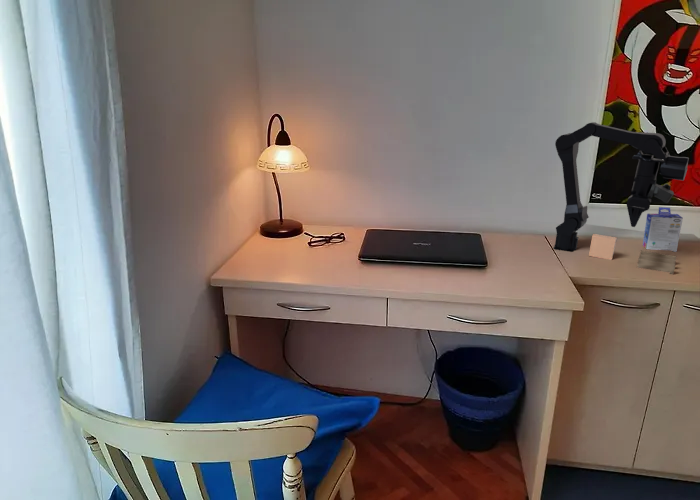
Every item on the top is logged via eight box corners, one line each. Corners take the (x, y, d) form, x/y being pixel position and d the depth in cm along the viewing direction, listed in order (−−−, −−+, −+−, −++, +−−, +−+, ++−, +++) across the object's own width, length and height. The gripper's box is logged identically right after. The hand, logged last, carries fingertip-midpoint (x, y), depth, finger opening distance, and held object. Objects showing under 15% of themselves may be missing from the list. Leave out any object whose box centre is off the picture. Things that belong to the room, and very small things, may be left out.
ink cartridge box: (671, 247, 187) (679, 207, 182) (677, 252, 182) (685, 211, 177) (640, 246, 189) (647, 206, 184) (645, 251, 184) (653, 210, 179)
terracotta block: (588, 255, 178) (592, 235, 175) (589, 253, 180) (593, 233, 177) (611, 260, 174) (615, 239, 172) (612, 257, 176) (616, 237, 174)
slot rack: (636, 267, 168) (638, 258, 167) (639, 258, 176) (641, 250, 175) (673, 274, 163) (675, 265, 162) (674, 265, 171) (676, 256, 170)
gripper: (675, 184, 154) (661, 235, 160) (676, 174, 169) (663, 221, 175) (632, 178, 159) (620, 228, 165) (637, 169, 175) (626, 215, 180)
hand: (634, 223), depth 171 cm, fingers open, 9 cm apart
